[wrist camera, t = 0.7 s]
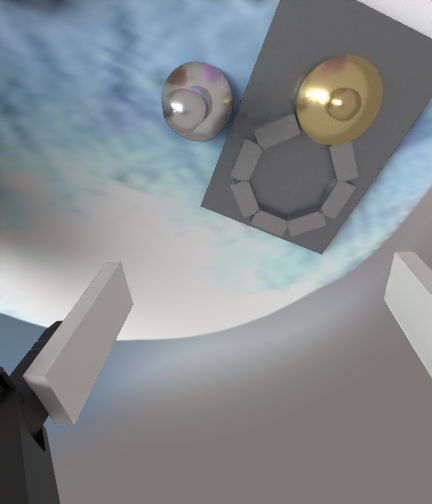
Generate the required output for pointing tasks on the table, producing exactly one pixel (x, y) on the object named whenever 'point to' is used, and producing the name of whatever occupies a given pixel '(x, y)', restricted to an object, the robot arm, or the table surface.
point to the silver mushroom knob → (197, 101)
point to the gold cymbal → (338, 99)
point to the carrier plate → (297, 141)
